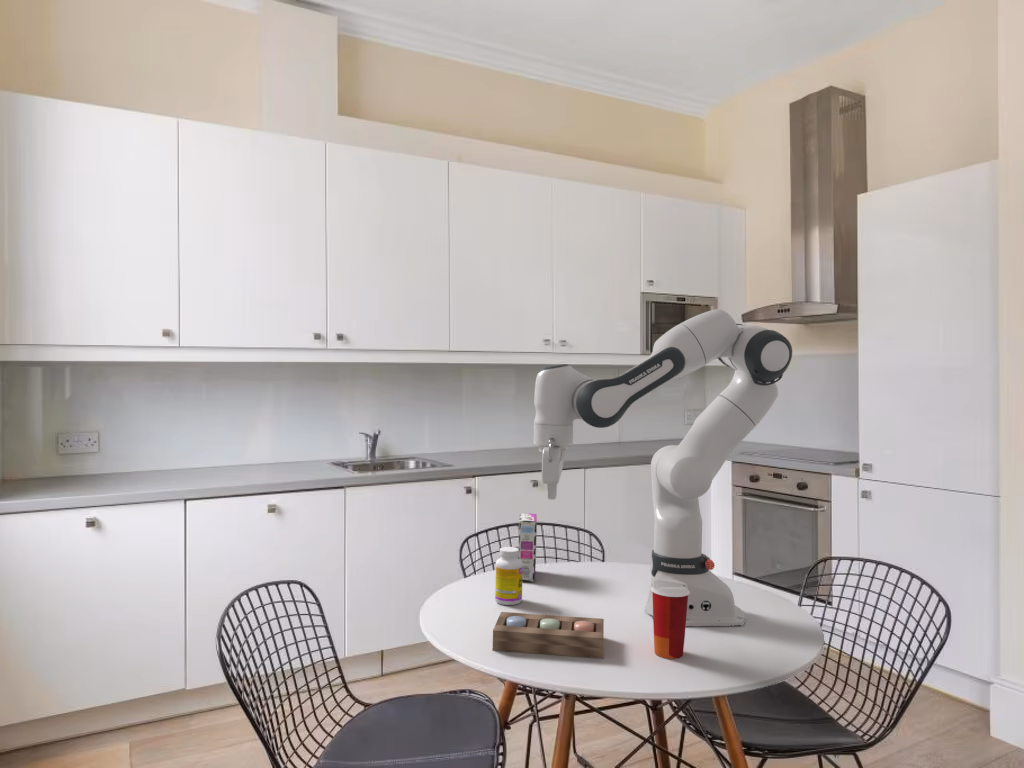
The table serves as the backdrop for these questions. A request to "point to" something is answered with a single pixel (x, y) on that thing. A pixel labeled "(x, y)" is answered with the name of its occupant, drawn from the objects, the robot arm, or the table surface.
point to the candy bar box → (527, 545)
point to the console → (549, 636)
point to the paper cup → (669, 617)
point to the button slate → (516, 621)
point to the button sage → (549, 624)
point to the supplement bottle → (508, 577)
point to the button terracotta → (584, 626)
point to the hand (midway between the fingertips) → (552, 498)
